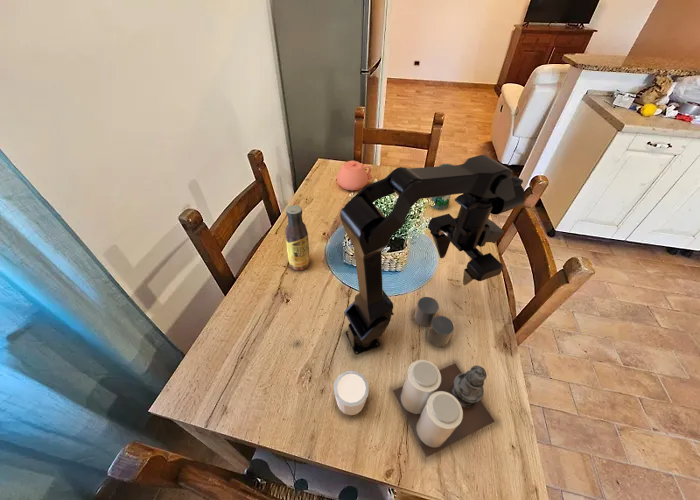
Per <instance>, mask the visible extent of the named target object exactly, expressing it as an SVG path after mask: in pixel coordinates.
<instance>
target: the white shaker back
mask: <svg viewBox="0 0 700 500" xmlns="http://www.w3.org/2000/svg"><path fill="white" fill-rule="evenodd" d="M407 369H408V370H407V372H406V376H405V378H404V382H403V385H402V386H403V388H402V391H401V402H402V404H403V406H404V407H405V409H406V410H408V411H409V412H411V413H414V414H421V413H422V411H423V409H424V406H425V404H426V402H427V400H428V398H429V397H430V396H431V395H432V394H433V393H435V392H436V391H437V389H438V388H439V386H440V383H441V374H440V371H439V370H440V369H439V368H438V366H436V364H434V363H433V362H432V361H430V360H427V359H416V360H415V361H413V362H412V363H411V364H410V365H409V367H408V368H407Z"/></svg>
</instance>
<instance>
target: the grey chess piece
mask: <svg viewBox="0 0 700 500" xmlns="http://www.w3.org/2000/svg"><path fill="white" fill-rule="evenodd" d="M487 374H488V373H487V370H485V368H484V367H482V366H481V365H473V366H472V367H471V368H470V369H469V370H467V371H466V372H462V374H459V375H458V376H457V377H456V378H455V380H454V385H453V386H452V389H451V394H452V395H453V396H454V397H455V398H456V399H457V400H458V401H459V403H460V405H461V406H463V407H467V408H468V407H472V406H474V405H475V404H476V402H478V401H480V400H481V401H482V399H483V398H484V395H485V393H484V392H485V390H484V385H485V380H486V378H487V376H488V375H487Z"/></svg>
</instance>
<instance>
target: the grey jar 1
mask: <svg viewBox="0 0 700 500" xmlns="http://www.w3.org/2000/svg"><path fill="white" fill-rule="evenodd" d="M439 308H440V306H439V302H438V301H437V300H436V299H435V298H433V297H431V296H423V297H421V298H419V299H418V301H417V305H416V308H415V312H414V316H413V317H414V321H415V322H416V323H417V325H420V326H422V327H430V325H431V322H432V320H433V319H434V318H435V317H437V316H438V315H437V314H438V311H439Z"/></svg>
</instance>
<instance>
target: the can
mask: <svg viewBox="0 0 700 500" xmlns="http://www.w3.org/2000/svg"><path fill="white" fill-rule="evenodd" d="M452 165H453V164H450V163H443V164H439V166H452ZM451 196H452V195H447V196H439V197H432V198H430V201H431V200H432V201H434V203H435V205H434V206H433V207H432V208H433V209H435V210H440V211H441V210H442V211H443V210H446V209H447V208H448V207H449V204H450V201H451Z"/></svg>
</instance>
